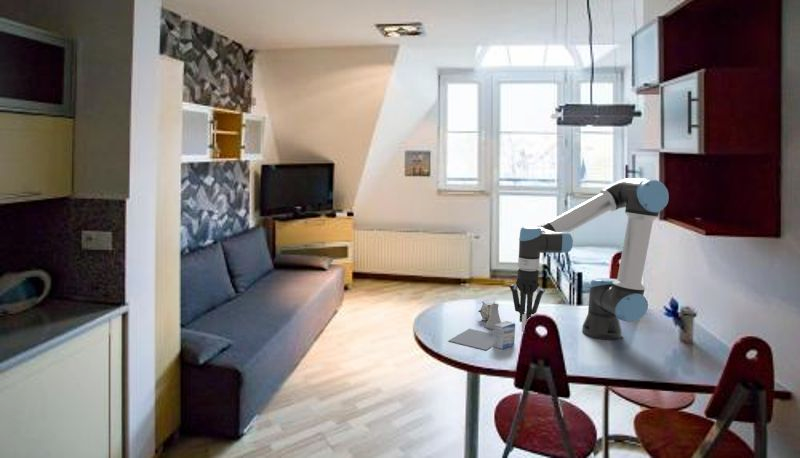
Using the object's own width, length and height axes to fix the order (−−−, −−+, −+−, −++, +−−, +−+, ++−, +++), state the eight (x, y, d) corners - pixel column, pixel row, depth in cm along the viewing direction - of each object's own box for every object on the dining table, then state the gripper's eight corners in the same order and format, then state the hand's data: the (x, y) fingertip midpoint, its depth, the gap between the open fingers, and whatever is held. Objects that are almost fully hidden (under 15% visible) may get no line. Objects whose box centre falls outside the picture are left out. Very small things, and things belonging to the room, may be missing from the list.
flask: (484, 324, 232) (485, 301, 231) (501, 324, 232) (502, 302, 231) (486, 329, 225) (487, 306, 224) (503, 330, 225) (505, 307, 223)
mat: (505, 337, 216) (505, 336, 216) (486, 350, 201) (486, 349, 201) (469, 329, 225) (469, 328, 225) (448, 341, 210) (448, 340, 210)
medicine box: (501, 349, 203) (503, 327, 202) (492, 346, 206) (493, 324, 205) (514, 345, 208) (515, 323, 207) (505, 341, 211) (506, 320, 210)
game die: (489, 327, 240) (502, 308, 241) (491, 326, 231) (504, 307, 233) (472, 315, 241) (485, 297, 243) (473, 314, 233) (486, 295, 234)
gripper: (507, 268, 199) (504, 330, 202) (542, 273, 192) (538, 337, 195) (515, 264, 205) (511, 324, 208) (549, 269, 198) (545, 331, 201)
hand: (524, 330), depth 202 cm, fingers closed
